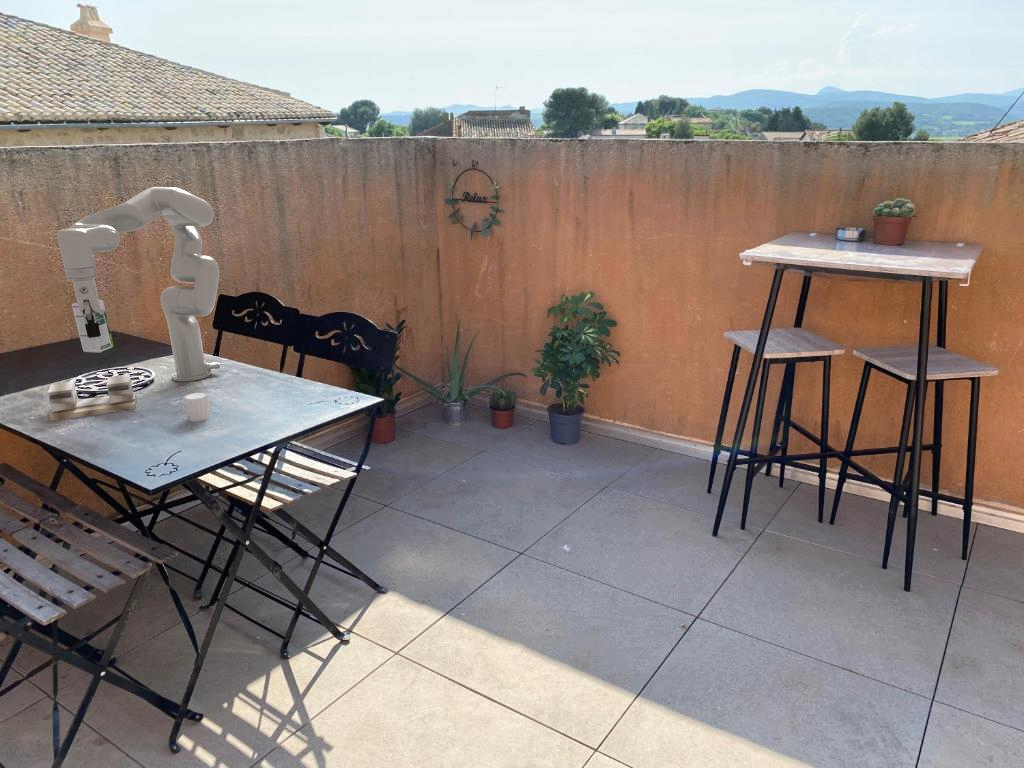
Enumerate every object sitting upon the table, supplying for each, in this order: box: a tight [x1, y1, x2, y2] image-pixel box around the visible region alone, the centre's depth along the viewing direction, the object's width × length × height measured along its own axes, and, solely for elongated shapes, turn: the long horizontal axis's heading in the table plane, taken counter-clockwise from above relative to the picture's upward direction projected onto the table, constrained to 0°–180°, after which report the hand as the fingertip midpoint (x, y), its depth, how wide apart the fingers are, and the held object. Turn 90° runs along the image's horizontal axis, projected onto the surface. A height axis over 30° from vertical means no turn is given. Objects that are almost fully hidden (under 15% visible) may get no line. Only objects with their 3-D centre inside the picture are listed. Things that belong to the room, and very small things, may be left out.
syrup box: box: [71, 298, 115, 354], centre depth 196 cm, size 6×6×14 cm
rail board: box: [47, 374, 137, 422], centre depth 207 cm, size 22×12×8 cm, turn 116°
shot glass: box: [182, 391, 211, 422], centre depth 199 cm, size 7×7×7 cm
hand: (94, 333), depth 197 cm, fingers closed on syrup box, 7 cm apart
